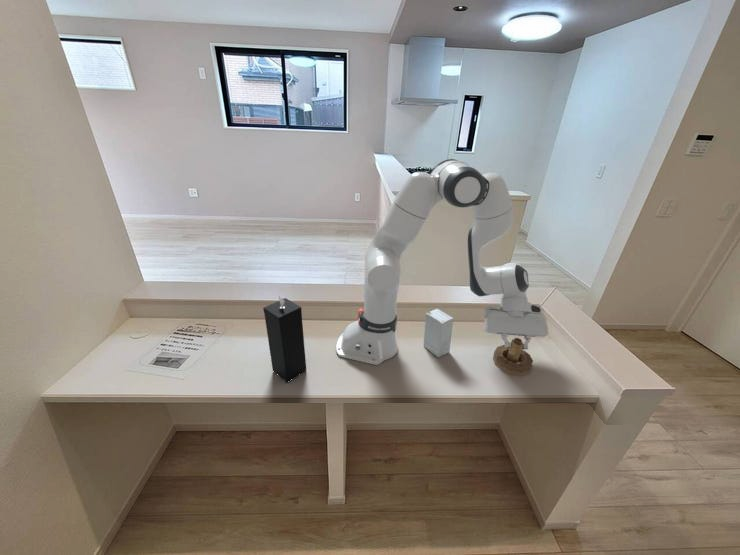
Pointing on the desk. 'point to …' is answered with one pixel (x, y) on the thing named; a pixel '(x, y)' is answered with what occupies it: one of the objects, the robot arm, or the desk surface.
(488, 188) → the robot arm
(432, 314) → the skincare box
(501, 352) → the brown faceted ring
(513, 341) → the wooden peg
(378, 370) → the desk surface
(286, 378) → the square furniture leg
